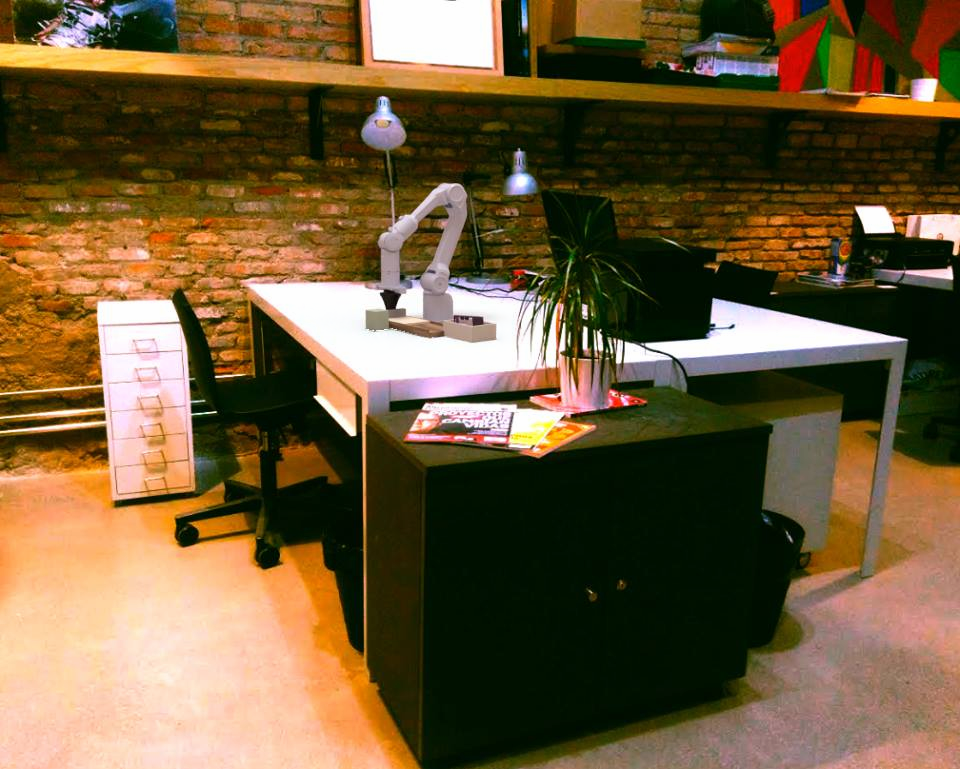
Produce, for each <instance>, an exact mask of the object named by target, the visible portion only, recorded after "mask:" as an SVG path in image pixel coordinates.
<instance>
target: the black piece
mask: <svg viewBox="0 0 960 769" xmlns="http://www.w3.org/2000/svg"><path fill="white" fill-rule="evenodd" d="M464 318H465V320H469V318H470V319H472V323H473V326H478V325H484V317H483V316H481V315H480V316H478V315H477V316H476V315H463V314H462V315H460V314H453V319H454V323H459V319H461V320H464ZM455 319H456V322H455ZM461 324H464V325H468V324H466V323H464V322H463V323H461Z"/></svg>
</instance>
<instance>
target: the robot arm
mask: <svg viewBox="0 0 960 769" xmlns="http://www.w3.org/2000/svg"><path fill="white" fill-rule="evenodd" d="M467 198H468V194H467V192H466V190H465V188H464V187H463V185H462V184H460V183H446V182H443V183H441V184H439V185H438V186H437V187H436V188H434V189H433V190H432V191H431V192H430V193H429V194H428V196H427V197H425V199H424V200H423V201H422V202H421V203H420V204H419V205H418V206H417V207H416V208H415V209H414V211H413V212H411V214H404V215H400V216H398V218H397V219H398V220H397V221H396V223H394V224H393V226H392V227H391V226H390V227H388V229H387V231H386V232H383V233H381V235H380V236H379V238H378V241H377V245H378V247H379V248H380V271H381V273H380V274H381V275H380V276H381V277H380V279H381V281H380V282H376V283H375V285H374V288H375V290H380V291H382V292H379V296H380V297H381V299H382V302H383V304H384V308H385V310H390V309H397V306H398V303H399V300H400V298H401V296H402V295H404V294H405V295H406V294H407V287H406V286H403V285H401V283H400V280H401V278H400V273H401V270H400V269H401V268H400V267H401V266H400V250H401V249H402V246H403V244H404V242H405V241H406V240H407V239H408V238H409V237H410V236H412V234H414V232H416V231H417V230H418V226H419V223H420V221H422V220H423V219H424V218H425V217H426V216H427V215H428V214H430V213H431V212H432V211H433V210H434V209H435V208H437V207H441V206H443V207H444V208H445V210H446V212H447V214H448V218H447V222H446V224H445V227H444V230H443V232H442V236H441V238H440V241H439V244H438V246H437V249H436V252H435V255H434V258H433V259H432V262H431V263H430V264H429V265H428V266H427V268H426V270H425V271H424V273H422V274H421V276H420V278H419V283H420V287H421V288H422V289H423V291H422V317H421V319H425V320H430V321H435V322H440V323H443V321H445V320H454V317H453V316H454V299H453V297H452V295H451V294H450V293H449V292H447V290H448V289H449V286H450V285H449V284H450V283H449V278H450V275H451V274H450V269H449V266H450V264H451V261H452V258H453V255H454V252H455V251H456V248H457V244H458V241H459V240H460V236H461V233H462V232H463V231H462V230H463V228H464V225H465V222H466V220H467V216H468V209H467V208H468V207H467Z"/></svg>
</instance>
